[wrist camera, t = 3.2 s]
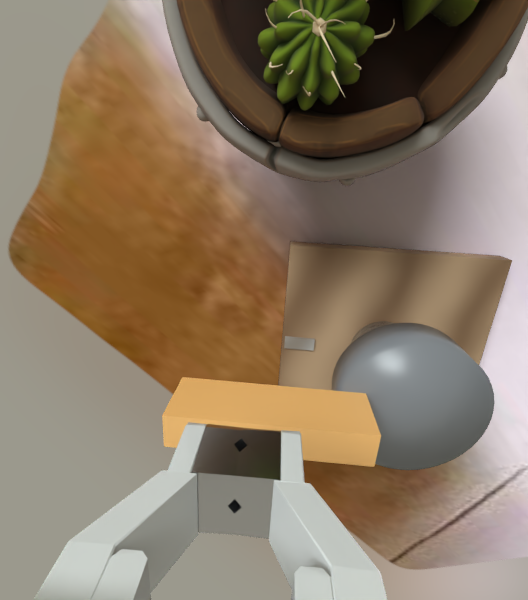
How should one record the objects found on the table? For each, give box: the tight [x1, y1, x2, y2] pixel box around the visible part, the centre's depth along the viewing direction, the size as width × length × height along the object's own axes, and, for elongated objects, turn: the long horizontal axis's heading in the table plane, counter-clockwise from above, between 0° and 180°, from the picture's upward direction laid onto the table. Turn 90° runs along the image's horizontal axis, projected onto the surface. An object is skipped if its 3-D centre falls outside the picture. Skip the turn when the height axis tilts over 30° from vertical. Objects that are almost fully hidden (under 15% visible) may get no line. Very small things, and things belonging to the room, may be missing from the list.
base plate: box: [278, 241, 512, 390], centre depth 28 cm, size 16×16×2 cm
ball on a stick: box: [162, 323, 494, 470], centre depth 20 cm, size 18×9×6 cm, turn 87°
